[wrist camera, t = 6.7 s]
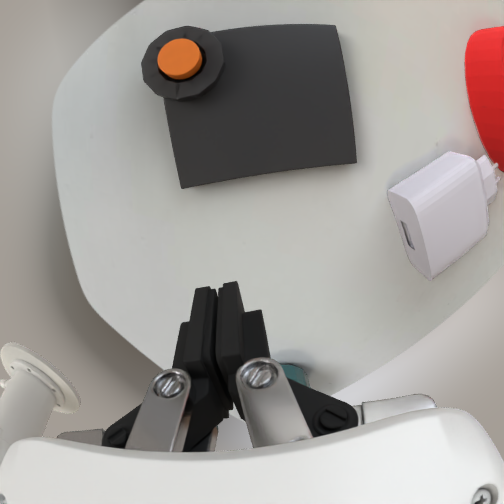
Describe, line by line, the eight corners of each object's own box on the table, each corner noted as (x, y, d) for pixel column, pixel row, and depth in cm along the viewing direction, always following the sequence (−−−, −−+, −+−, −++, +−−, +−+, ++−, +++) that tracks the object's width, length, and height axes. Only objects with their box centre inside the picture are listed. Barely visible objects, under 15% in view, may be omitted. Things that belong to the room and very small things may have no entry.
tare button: (165, 83, 16) (160, 80, 14) (160, 50, 14) (155, 44, 13) (205, 74, 16) (202, 70, 14) (199, 40, 14) (196, 34, 13)
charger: (490, 199, 24) (408, 262, 26) (475, 130, 20) (383, 188, 23) (516, 212, 19) (432, 284, 22) (505, 135, 16) (412, 202, 18)
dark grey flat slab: (174, 188, 21) (166, 196, 19) (149, 49, 16) (138, 39, 14) (350, 161, 21) (366, 166, 19) (329, 26, 16) (342, 15, 13)
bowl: (254, 399, 34) (257, 429, 29) (245, 366, 31) (247, 400, 26) (306, 390, 34) (313, 419, 29) (305, 356, 31) (314, 388, 26)
